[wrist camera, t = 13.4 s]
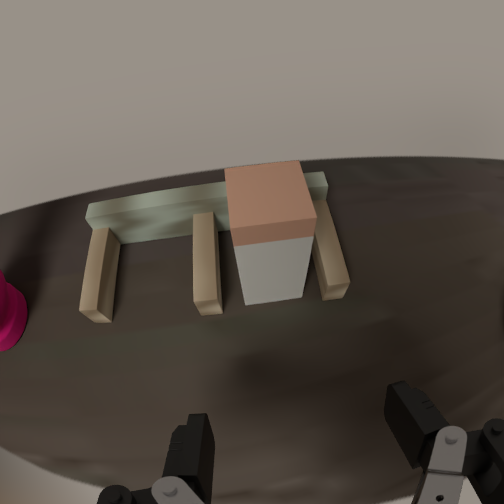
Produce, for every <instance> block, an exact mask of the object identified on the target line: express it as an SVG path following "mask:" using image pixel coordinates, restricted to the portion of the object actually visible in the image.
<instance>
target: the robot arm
mask: <svg viewBox="0 0 504 504" xmlns="http://www.w3.org/2000/svg"><path fill="white" fill-rule="evenodd" d="M384 415H385V419H386V422H387V423H388V425H389V427H390V429H391V431H392V432H393V434H394V436H395V438H396V440H397V441H398V443H399V445H400V447H401V449H402V450H403V452H404V454H405V456H406V458H407V460H408V461H409V463H410V465H411V467H412V469H415V468H418V467H420V466H421V467H422V469H423V472H422V475H421V478H420V481H419V484H418V487H417V490H416V492H415V495H414V498H413V501H412V503H411V504H458V501H459V497H460V493H461V489H462V484H463V479H464V476H467V478H468V479H469V481H470V483H471V485H472V486H473V488H474V490H475V492H476V494H477V496H478V497H479V499H480V501H481V503H482V504H504V420H502V419H491V420H489V421H487V422H486V423H485V425H484V427H483V429H482V430H476V431H471V432H465V431H464V430H463V429H462V428H460V427H457V426H450V425H449V424H448V422H447V421H446V420H445V418H444V417H443V416H442V415H441V413H440V412H439V411H438V409H437V408H436V407H434V404H433V403H432V402H431V401H430V399H429V398H428V397H427V395H426V394H425V393H424V392H422V391H420V390H419V389H417V388H414V389H411V388H410V387H409V385H408V384H407V383H406V382H405V381H400V382H397V383H393V384H389V385H388V387H387V393H386V400H385V407H384ZM214 454H215V441H214V436H213V432H212V429H211V426H210V422H209V419H208V415H207V414H206V413H202V414H189V416H188V421H187V425H179V426H178V427H177V428H176V429H175V431H174V432H173V433H172V437H171V441H170V445H169V451H168V454H167V458H166V462H165V466H164V471H163V475H162V478H161V479H159V480H157V481H156V482H155V483H154V484H153V486H152V487H151V488H148V489H143V490H137V491H131V492H130V491H129V490H128V489H127V488H126V487H124V486H121V485H112V486H109V487H106V488H105V489H103V490H102V492H101V493H100V495H99V498H98V502H97V504H211V495H212V481H213V468H214Z"/></svg>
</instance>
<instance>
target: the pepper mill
mask: <svg viewBox="0 0 504 504" xmlns="http://www.w3.org/2000/svg"><path fill="white" fill-rule="evenodd" d="M27 312H28V311H27V303H26V300H25V298H24V296H23V294H22V293H21V292H20V291H19V290H17V289H16V288H15V287H13V286H12V285H11V284H10V283H7V282H6V281H5V277H4V275H3V273H2V271H1V270H0V351H5V350H8V349H10V348H11V347H13V346H14V345H15V344H16V342H17V341H18V340H19V339H20V337H21V335H22V333H23V331H24V329H25V325H26V321H27Z"/></svg>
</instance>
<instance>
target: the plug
mask: <svg viewBox="0 0 504 504" xmlns="http://www.w3.org/2000/svg"><path fill="white" fill-rule="evenodd" d="M225 180H226V190H227V201H228V211H229V221H230V230H231V235H232V240H233V246H234V251H235V256H236V261H237V266H238V271H239V276H240V281H241V286H242V291H243V296H244V301H245V305H251V304H259V303H266V302H273V301H280V300H287V299H294V298H300V297H302V295H303V290H304V285H305V280H306V275H307V270H308V264H309V259H310V254H311V249H312V243H313V238H314V232H315V226H316V221H317V216H316V212H315V209H314V206H313V203H312V200H311V196H310V193H309V190H308V187H307V184H306V181H305V178H304V175H303V172H302V169H301V166H300V163H299V160H296V161H285V162H276V163H267V164H258V165H250V166H242V167H234V168H227V169H225Z"/></svg>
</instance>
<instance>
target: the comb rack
mask: <svg viewBox="0 0 504 504" xmlns="http://www.w3.org/2000/svg"><path fill="white" fill-rule="evenodd" d="M303 175H304V178H305V181H306V184H307V187H308V190H309V193H310V196H311V200H312V203H313V206H314V209H315V212H316V216H317V221H316V226H315V232H314V238H313V243H312V249H311V252H312V256H313V260H314V265H315V269H316V273H317V278H318V282H319V287H320V291H321V296H322V301H326V300H333V299H339V298H343V296H344V294H345V292H346V290H347V288H348V286H349V284H350V279H349V275H348V272H347V268H346V265H345V261H344V258H343V254H342V251H341V247H340V244H339V240H338V237H337V234H336V230H335V227H334V224H333V221H332V217H331V214H330V211H329V208H328V205H327V202H326V196H327V190H328V184H327V181H326V178H325V175H324V173H323V172H313V173H303ZM85 219H86V220H87V222H88V223H89V225H90V226H91V228H92V229H93V233H92V237H91V242H90V247H89V252H88V257H87V263H86V268H85V274H84V280H83V287H82V294H81V301H80V308H79V311H80V312H82V313H83V314H84V315H86V316H87V317H88V318H89V319H91V320H92V321H93V322H95V323H106V322H112V315H113V303H114V293H115V283H116V274H117V266H118V259H119V251H120V244H127V243H134V242H141V241H149V240H156V239H163V238H171V237H179V236H186V235H193V292H194V303H195V305H196V307H197V308H198V310H199V312H200V314H201V315H202V316H203V315H213V314H223V309H222V294H221V279H220V262H219V244H218V231H226V230H230V221H229V211H228V201H227V190H226V181H225V182H217V183H210V184H202V185H195V186H188V187H182V188H175V189H169V190H162V191H156V192H150V193H144V194H139V195H133V196H128V197H122V198H117V199H112V200H106V201H101V202H96V203H91V204H89V206H88V210H87V213H86V217H85Z"/></svg>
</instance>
